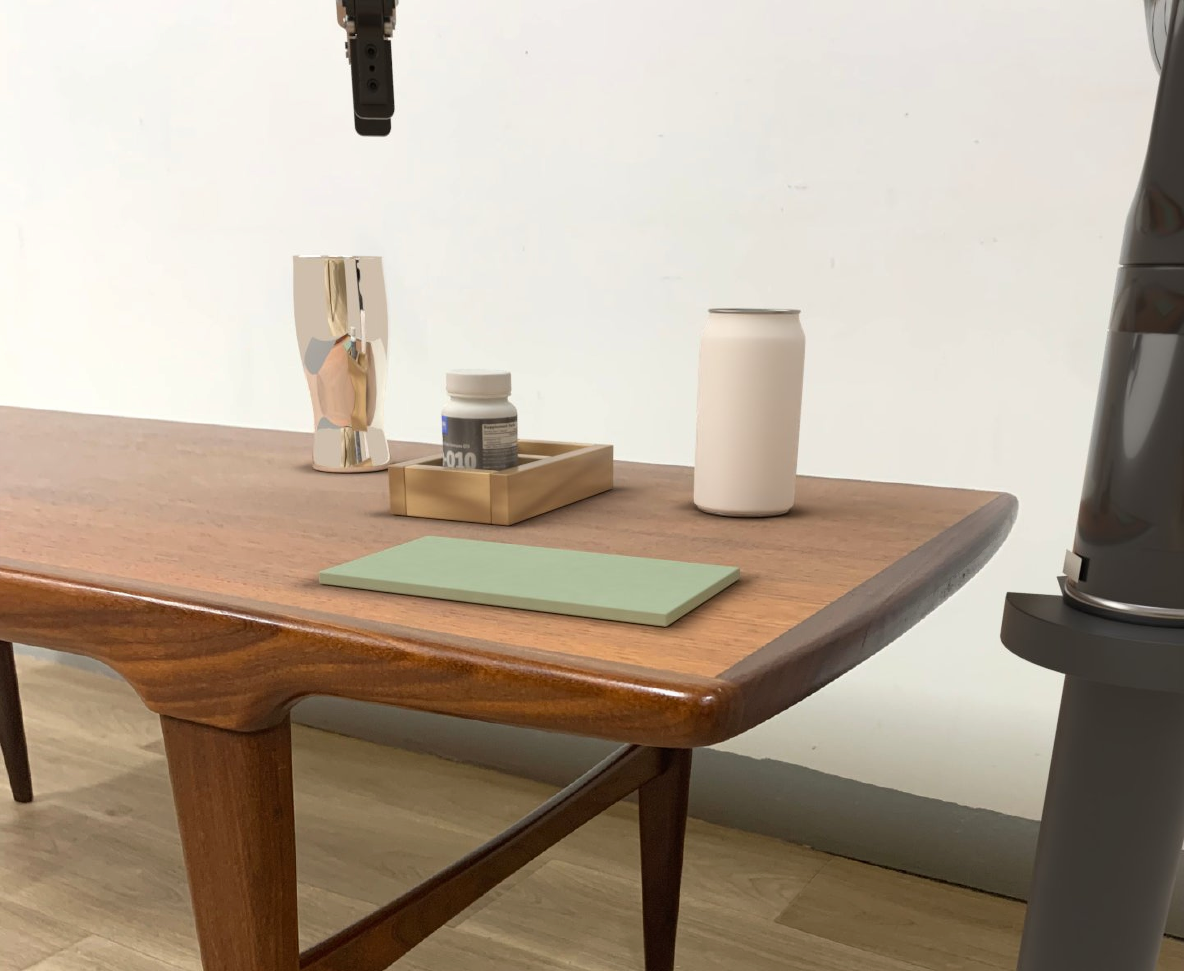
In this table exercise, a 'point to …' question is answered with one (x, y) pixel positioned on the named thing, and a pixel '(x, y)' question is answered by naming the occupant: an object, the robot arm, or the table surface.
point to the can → (748, 411)
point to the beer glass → (344, 357)
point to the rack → (502, 483)
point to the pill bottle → (479, 421)
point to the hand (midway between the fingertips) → (374, 127)
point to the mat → (538, 579)
